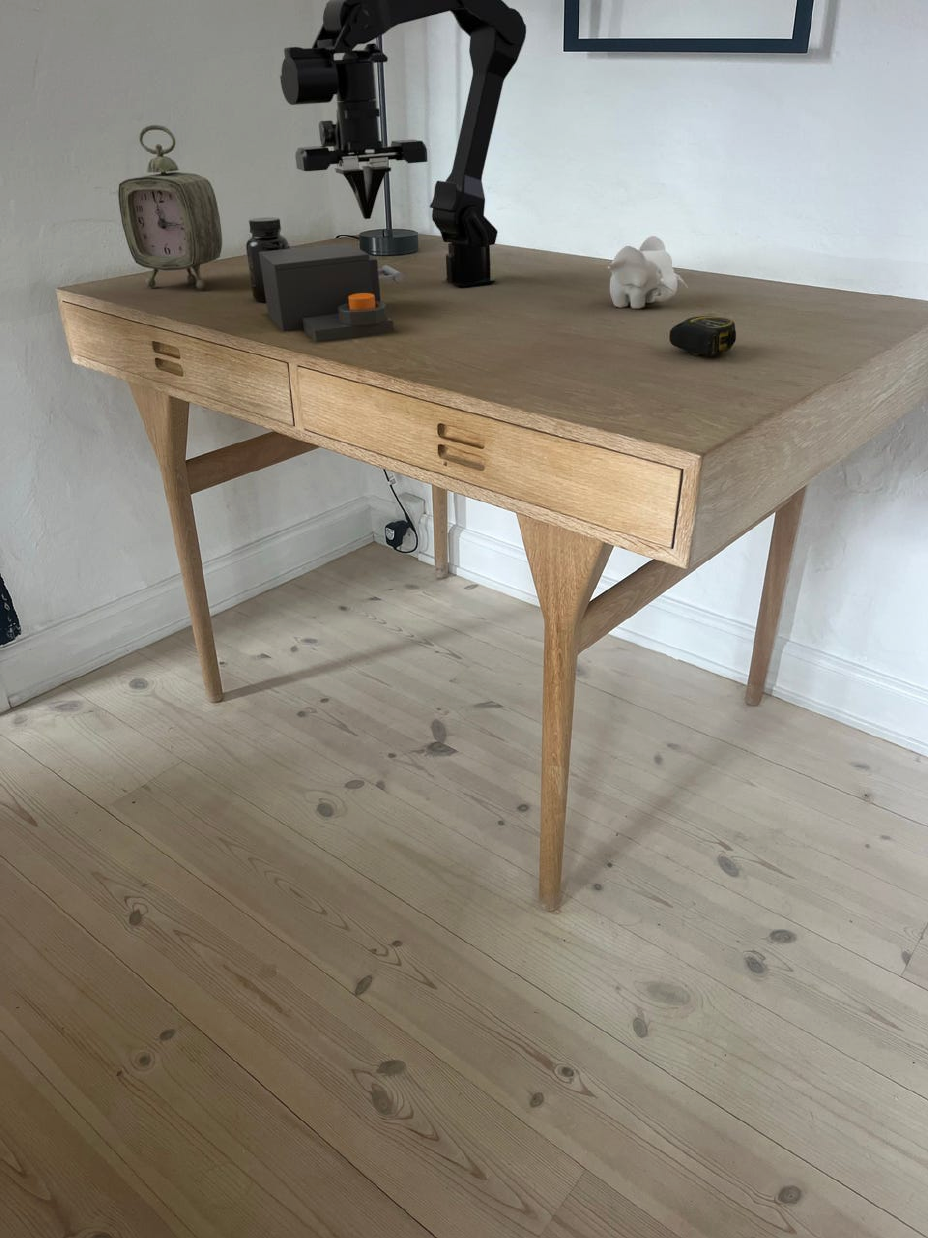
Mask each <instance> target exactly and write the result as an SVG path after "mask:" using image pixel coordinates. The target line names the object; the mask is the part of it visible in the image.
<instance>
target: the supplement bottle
mask: <svg viewBox="0 0 928 1238" xmlns="http://www.w3.org/2000/svg"><path fill="white" fill-rule="evenodd" d="M248 224H249V233H250V234H251V237H250V238H249V239H247V241H246V244H245V249H246V257H247V265H248V271H249V278H250V285H251V291H252V293H251V294H252V298H253V299H254V300H255V301H257V302H261V303H266V298H265V291H264V284H263V277H262V270H261V264H260V257H259V252H263V251H273V250H282V249H291V248H290V247H291V246H290V242H289V240H288V239H287V238H286V236H283V235H282V234H281V232H282V226H281V218H279V217H273V216H272V217H268V216H267V217H266V216H265V217H256V218H255V217H254V218H250V219H249V220H248Z"/></svg>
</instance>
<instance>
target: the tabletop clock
mask: <svg viewBox="0 0 928 1238" xmlns="http://www.w3.org/2000/svg"><path fill="white" fill-rule="evenodd" d="M157 130H158V131H162V132H165V133H167V134H168V135H169V136H170V138H171V141H172V144H171V145H170V147H168V148H165V149H163V146H162V144H160V143H158V144H156V145H155V146H154V147H155V149H153V148H151V147H148V146H147V145H145V143H144V141H143V140H144V139H143V138H144V136H145V134H147V132H149V131H157ZM139 143H140V145H141V147H142V149H144V150H145V151H146V152H148V153H149V154H152V155H156V156H155V157H153V158H151V159H150V160H149V162H148V165H147V168H146V169H147V170H146V172H147V173H153V174H149V175H142V176H138V177H133V178H127V179H125V180H123V181H121V182H120V183H119V184H118V192H117V193H118V194H117V197H118V206H119V212H120V219H121V224H122V229H123V232H124V237H125V239H126V243H127V246H128V248H129V252H130V255H131V256H132V258H133V260H134V262H135V263H136V264H138V265H139V266H141V267H144V268H146V269H151V270H152V273H151V276H150V277H147V278H146V280H145V284H146V286H147V287H148V288H154V287H155V286H156V279H155V278H156V276H157V274H158V272H159V270H160V271H181V270H186V272H187V274H188V275H187V276H186V277H187V278H186V279H187V282H188V283H189V284H195V283H196V284H195V286H196V288H197V290H200V291H203V290H205V289H206V287H207V285H206V282H205V281H204V280H203V279H202V277H201V271H200V266H201V265H204V264H206V263H210V262H213V261H215V260H217V259H219V258H220V257H221V254H222V249H223V232H222V225H221V217H220V212H219V206H218V202H217V198H216V197H217V196H216V193H215V190H214V188H213V186H212V183H211V182H210V181H209V180H208V179H207V178H205V177H204V176H202V175H200V174H197V173H190V172H181V171H179V170H180V169H179V167H178V165H177V163H176V162H175V160H173V158H171V157H169V156H166V155H167V154H169V153H171V152H173V151H174V149H175V147H176V138H175V136H174V134H173V132H172V131H171V130H170V129H169V128H167V127H166V126H163V125H159V124H151V125H147V126H145V127H144V128H143V129H141V131H140V133H139ZM164 155H165V156H164ZM191 268H192V269H193V271H194V273H195V274H193V273H192V269H191Z"/></svg>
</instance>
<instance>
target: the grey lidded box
mask: <svg viewBox="0 0 928 1238" xmlns="http://www.w3.org/2000/svg"><path fill="white" fill-rule="evenodd" d="M369 255H370V253H368V252H365V251H364V250H362V249H361V248H359V247H356V246H355V245H353V244H351V243H350V242H341V243H332V244H331V243H330V244H322V245H312V246H303V247H302V246H301V247H293V248H290V249H282V250H273V251H263V252H259V257H260V264H261V270H262V277H263V284H264V291H265V298H266V302H265V305H266V310H267V315H268V316H269V317H270V319H271V320H272V321H273V322H274V323H275V324H276V325H277V326H278V328H280V330H281V331H283V332H289V331H296V330H297V331H298V330H304V329H303V321H302V318H307V317H315V316H323V315H330V314H338V313H339V312H338V308H339V307H340V306H341V305H343V304H347V303H349V299H348V297H349V296H350V295H353V294H358V293H371V294H373V292H372V281H371V270H370V258H369Z"/></svg>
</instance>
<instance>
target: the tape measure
mask: <svg viewBox="0 0 928 1238" xmlns="http://www.w3.org/2000/svg"><path fill="white" fill-rule="evenodd" d="M736 340H737V331H736V324H735V322H734V321H733V320H731V319H730V318H727V317H722V316H715V315H700V316H692V317H689V318H687V319H685V320H683V321H682V322H679V323H677V324H676V325H673V326H672V328H671V329H670V330H669V340H668V341H669V343H670V344H671V345H672V346H673V347H675V348H677V349H680V350H684V351H686V352H691V353H692V354H693V355H694V356H695V355H697V356H698V355H704V356H708V357H712V356H714V355H716V354H720V353H726V352H729V351H730V350H731V349H732V347H733V346H734V344H735V343H736Z"/></svg>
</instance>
